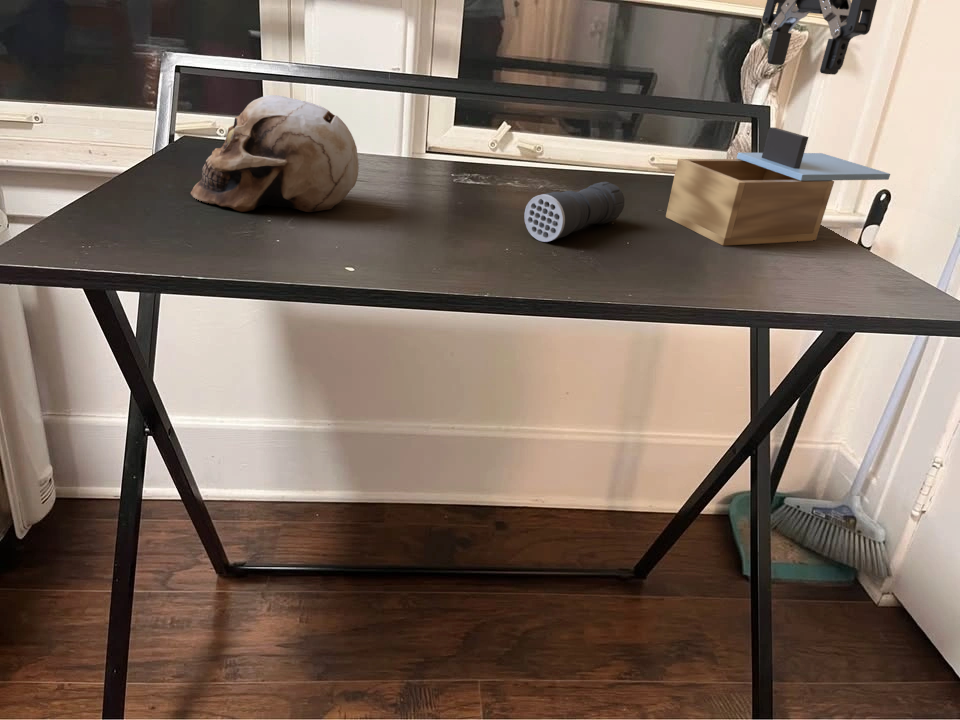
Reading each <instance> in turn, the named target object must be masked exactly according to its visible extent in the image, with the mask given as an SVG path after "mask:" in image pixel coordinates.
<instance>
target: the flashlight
mask: <svg viewBox="0 0 960 720" xmlns="http://www.w3.org/2000/svg"><path fill="white" fill-rule="evenodd" d="M624 207H625V196H624V193H623V191H622V190H621V189H620V187H619V186H617V185H616V184H614V183H611V182H610V181H609V182H608V181H601V182H596V183H593V184H591V185H589V186H587V187H586V188H583V189H581V190H578V191H575V190H574V191H573V190H565V191H551V192H547V193H542V194H538V195H535V196H533V197H532V198H531V199H530V200H529V201H528V202H527V204H526V206H525V209H524V218H523V219H524V223H525V227H526V229H527V231H528V233H529V234H530V236H532V237H533V239H535V240H537V241H539V242H543V243H548V242H551V241H555V240H559V239H563V238H564V237H567V236H568V235H569V234H571V233H575V232H578V231H579V230H581V229H582V228H583V227H584V226H593V225H605V224H608V223H611V222H614V221H615V220H617V219H618V218H619V217H620V215H621V214H622V212H623V211H624Z"/></svg>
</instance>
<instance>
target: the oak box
mask: <svg viewBox="0 0 960 720" xmlns="http://www.w3.org/2000/svg"><path fill="white" fill-rule="evenodd" d="M834 184H835V180H822V181H800V180H797V179H794V178H792V177H789V176H786V175H783V174H780V173H777V172H774V171H772V170H769V169H766V168H763V167H760V166H757V165H754V164H752V163H749V162H746V161H743V160H740V159H737V158H678V159H677V162H676V167H675V172H674V175H673V180H672V185H671V190H670V194H669V200H668V204H667V208H666V212H665V213H666V214H665V218H667V219H668V220H671V221H673V222H674V223H676V224H679V225H681V226H682V227H684V228H687V229H688V230H690V231H692V232H695V233H697V234H699V235H701V236H702V237H705V238H707V239H709V240H710V241H712V242H714V243H716V244H718V245H720V246H722V247H725V246H727V247H728V246H742V245H760V244H775V243H776V244H777V243H794V242H797V241H798V242H814V241H813V240H815V241H817V238H818V234H819V231H820V228H821V225H822V222H823V219H824V216H825V212H826V210H827V206H828V204H829V199H830V197H831V194H832V190H833V187H834Z"/></svg>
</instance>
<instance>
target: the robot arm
mask: <svg viewBox="0 0 960 720" xmlns="http://www.w3.org/2000/svg"><path fill="white" fill-rule="evenodd" d="M877 2H878V0H766V3H765V7H764V11H763V14H762V18H761V22H762V24H765V25H768V26H769V27H770V29H771V31H772V32H771V38H770V41H769V46H768V50H767V53H766V55H767V56H766V57H767V64H768V65H773V66H782V65H784V64H785V62H786V59H787V54H788V50H789V46H790V42H791V39H792V34H793V33H792V32H791V31H792V30H793V29H794V28H795V26H796V25H797V24H798V23H799V22H800V20H803V19H805V18H806V17H807V16H808V14H815V15H822V17H823V19H824V20H825V21H826V22H827V25H828V29H829V32H830V36H831V38H828V39H827V43H826V46H825V50H824V54H823V57H822V61H821V65H820V67H819V68H820V69H819V72H820V74H822V75H833V76H835V75H837V74H838V73H839V71H840V70H841V69H842V67H843V65H844V62H845V58H846V54H847V51H848V48H849V44H850V42H851V40H852V39H853V38H855V37H858V36H862V35H863V36H865V35H867V34H868V33H870V30H871V27H872V22H873V18H874V16H875V11H876V7H877ZM776 6H777V7H776ZM775 9H776V11H775Z"/></svg>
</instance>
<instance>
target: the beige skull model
mask: <svg viewBox="0 0 960 720" xmlns="http://www.w3.org/2000/svg"><path fill="white" fill-rule="evenodd" d="M359 165H360V164H359V155H358V147H357V144H356V141H355V138H354V136H353V134H352V133H351V131H350V129H349V128H348V126H347V125H346V123H345V122H344V121H343V120H342V119H341V118H340V117H339V115H335V114H333V113H332V112H331V111H330V110H328V109H327V108H325V107H323V106H321V105H318V104H315V103H312V102H309V101H306V100H301V99H297V98H293V97H287V96H284V95H277V94H270V95H269V94H268V95H264V96H261V97H258V98H255V99H254V100H252V101H251V102H249V103H248V104H247V105H246V107H245V108H244V109H243V110H242V112H240V114H239V115H238V116H235V117H234V122H233V125H232V126H229V127H228V129H227V133H226V137H225V139H224V143H223V144H222V146H221V147H216V148H214V150H212V152H211V154H210V155H209V156H208V157H207V158H206V160H205V163H204V165H203V166H202V170H201V175H202V177H201V179H200V180H199V181H198V182H197V183H195V184H194V186H193V188H192V190H191V191H190V195H191V196H192V198H193V199H194V198H195V199H194V200H196V199H197V200H196V201H198V200H199V202H201V201H202V202H201V203H205V204H208V203H209V205H217V206H219V207H221V208H231V209H233V210H234V211H237V212H241V213H243V212H251V211H254V210H256V209H257V208H258V207H261V206H264V205H267V206H270V207H274V208H291V209H293V210H299V211H301V212H305V213H315V212H320V211H326V210H332V209H333V207H335V206H336V205H338V204H339V203H341V202H342V201H343V200H344V199H345V198H346V197H347V195H348V194H349V193H350V192H351V190H352V189H353V188H354V187H355V186H356V183H357V181H358V177H359V169H360V167H359Z"/></svg>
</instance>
